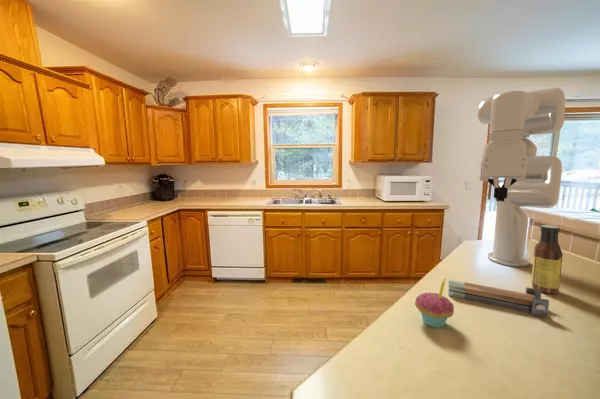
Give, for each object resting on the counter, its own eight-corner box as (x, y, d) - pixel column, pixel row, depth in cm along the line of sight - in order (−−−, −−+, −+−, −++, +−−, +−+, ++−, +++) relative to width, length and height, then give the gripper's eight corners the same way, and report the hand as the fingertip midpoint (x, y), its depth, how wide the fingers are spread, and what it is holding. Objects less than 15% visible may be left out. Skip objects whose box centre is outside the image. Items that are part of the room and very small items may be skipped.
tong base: (448, 286, 81) (449, 273, 80) (537, 303, 70) (539, 288, 70) (448, 298, 74) (449, 284, 73) (547, 319, 63) (550, 302, 63)
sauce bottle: (564, 295, 74) (573, 229, 71) (539, 294, 75) (547, 229, 72) (547, 285, 80) (555, 224, 77) (525, 283, 82) (531, 223, 79)
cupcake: (448, 315, 66) (451, 271, 64) (456, 336, 58) (460, 287, 57) (412, 309, 69) (414, 268, 67) (416, 329, 61) (418, 282, 59)
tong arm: (448, 283, 79) (449, 279, 79) (533, 299, 69) (534, 294, 69) (448, 289, 75) (449, 284, 75) (538, 307, 66) (538, 302, 65)
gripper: (536, 136, 72) (529, 199, 75) (472, 140, 80) (469, 197, 83) (544, 135, 66) (536, 204, 69) (474, 139, 73) (470, 201, 76)
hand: (499, 200), depth 76 cm, fingers closed
